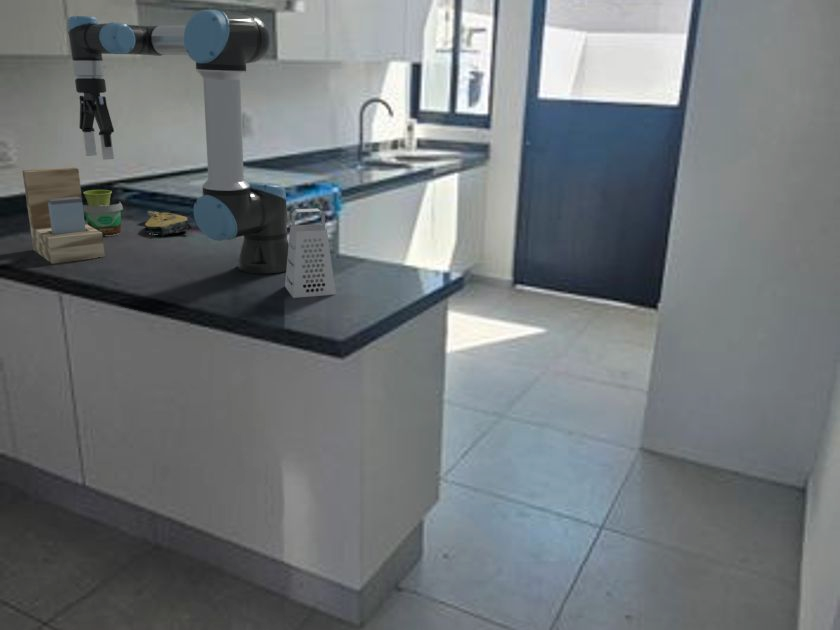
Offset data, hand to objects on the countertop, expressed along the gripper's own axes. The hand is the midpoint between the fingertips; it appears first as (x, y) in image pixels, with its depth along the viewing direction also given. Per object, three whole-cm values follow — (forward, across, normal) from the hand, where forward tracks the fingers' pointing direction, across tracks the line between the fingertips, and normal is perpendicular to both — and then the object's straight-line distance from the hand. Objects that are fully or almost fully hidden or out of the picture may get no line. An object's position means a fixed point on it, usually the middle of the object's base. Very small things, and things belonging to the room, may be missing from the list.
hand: (99, 157), depth 211 cm
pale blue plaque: (+23, +4, +10) cm, 25 cm away
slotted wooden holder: (+27, +7, +10) cm, 30 cm away
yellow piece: (+28, +25, -27) cm, 45 cm away
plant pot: (+26, +58, -17) cm, 66 cm away
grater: (+29, -66, -25) cm, 76 cm away
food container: (+27, +25, -8) cm, 37 cm away
